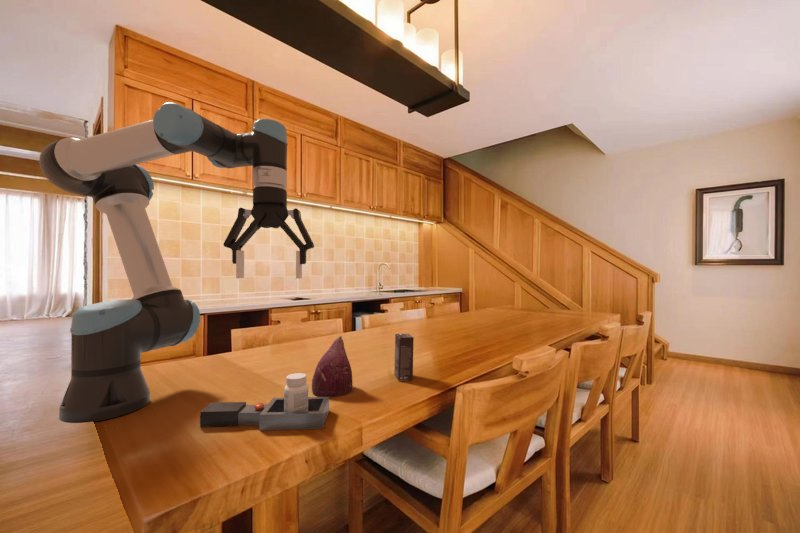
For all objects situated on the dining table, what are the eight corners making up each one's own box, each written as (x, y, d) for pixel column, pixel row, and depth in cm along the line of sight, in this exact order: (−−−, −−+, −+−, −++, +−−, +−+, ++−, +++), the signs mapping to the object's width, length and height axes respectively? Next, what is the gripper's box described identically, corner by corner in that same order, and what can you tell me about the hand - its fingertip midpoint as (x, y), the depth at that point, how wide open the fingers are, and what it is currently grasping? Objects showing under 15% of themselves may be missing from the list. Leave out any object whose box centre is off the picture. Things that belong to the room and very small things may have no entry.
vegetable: (336, 393, 94) (344, 337, 98) (359, 398, 86) (366, 338, 90) (302, 392, 87) (311, 333, 91) (324, 398, 79) (333, 333, 84)
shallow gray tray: (194, 432, 65) (194, 415, 65) (216, 413, 73) (216, 398, 73) (322, 428, 66) (322, 412, 66) (329, 410, 74) (329, 395, 75)
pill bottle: (311, 412, 72) (311, 372, 72) (303, 422, 67) (303, 380, 67) (290, 411, 72) (290, 371, 72) (279, 421, 68) (280, 379, 68)
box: (414, 380, 95) (414, 337, 95) (398, 381, 94) (398, 337, 94) (408, 373, 101) (408, 333, 101) (393, 374, 100) (394, 333, 100)
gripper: (207, 183, 76) (207, 278, 76) (320, 185, 78) (320, 278, 77) (223, 191, 83) (222, 277, 83) (325, 193, 85) (325, 277, 85)
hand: (269, 278), depth 80 cm, fingers open, 13 cm apart
